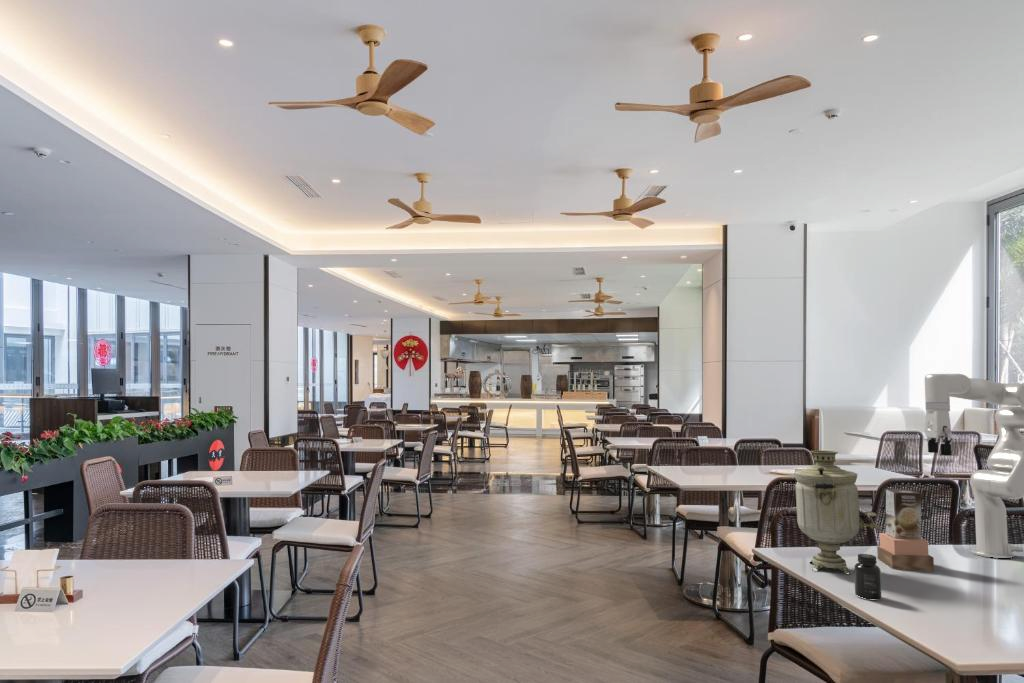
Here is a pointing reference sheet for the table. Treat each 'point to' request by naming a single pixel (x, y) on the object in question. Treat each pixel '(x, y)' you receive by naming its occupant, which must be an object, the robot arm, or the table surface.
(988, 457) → the robot arm
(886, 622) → the table surface
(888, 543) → the tower top block
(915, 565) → the tower base block
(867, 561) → the supplement bottle
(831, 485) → the samovar
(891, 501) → the coffee box
